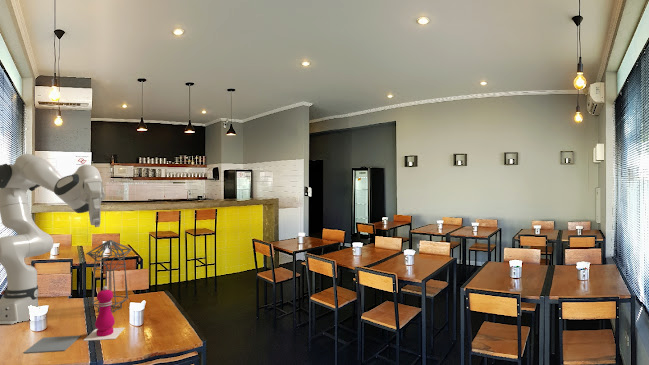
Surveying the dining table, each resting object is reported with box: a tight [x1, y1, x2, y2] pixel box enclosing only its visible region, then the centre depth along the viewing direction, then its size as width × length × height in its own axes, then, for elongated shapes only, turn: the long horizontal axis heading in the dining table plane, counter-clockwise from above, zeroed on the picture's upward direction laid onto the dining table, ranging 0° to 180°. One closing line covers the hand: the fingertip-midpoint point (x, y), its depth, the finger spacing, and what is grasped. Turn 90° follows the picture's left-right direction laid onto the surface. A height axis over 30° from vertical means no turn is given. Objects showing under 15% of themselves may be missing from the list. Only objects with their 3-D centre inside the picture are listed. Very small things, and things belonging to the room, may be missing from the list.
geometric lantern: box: [86, 239, 133, 314], centre depth 196 cm, size 16×16×35 cm
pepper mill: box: [94, 285, 116, 336], centre depth 166 cm, size 7×7×20 cm
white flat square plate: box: [82, 327, 125, 342], centre depth 166 cm, size 12×12×1 cm
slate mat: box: [22, 335, 81, 354], centre depth 155 cm, size 14×14×1 cm
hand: (97, 217), depth 158 cm, fingers open, 8 cm apart
